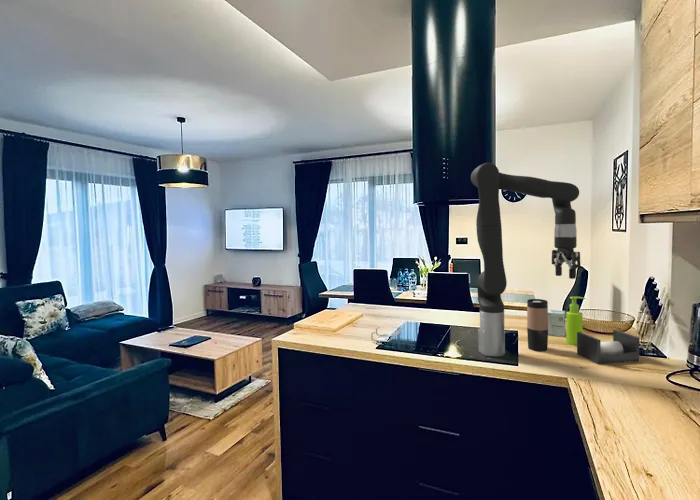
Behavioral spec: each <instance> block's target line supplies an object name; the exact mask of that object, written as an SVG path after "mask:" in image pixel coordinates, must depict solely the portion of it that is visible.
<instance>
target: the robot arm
mask: <svg viewBox="0 0 700 500" xmlns="http://www.w3.org/2000/svg"><path fill="white" fill-rule="evenodd" d="M470 181H471V183H472V184H473V186H475V187H476V188H477V190H478V207H477V215H476V220H475V222H476V223H475V225H476V227H475V229H476V238H477V243H478V247H479V249H480V253H481V255H482V259H483V266H484V267H483V271H482V272H481V273H480V274H479V275H478V277H477V283H476V287H477V301H478V305H479V327H478V329H477V339H478V340H477V341H478V345H477V346H478V349H477V350H478V352H479V353H480V354H482V355H483V356H487V357H502V356H504V355H505V354H506V351H505V350H506V346H505V345H506V343H505V342H506V340H505V337H506V334H505V304H504V302H503V299H502V294H503V293H504V292H505V290H506V289H507V284H508V283H507V281H508V280H507V276H506V271H505V265H504V258H503V257H504V253H503V252H504V251H503V232H502V231H503V230H502V227H503V226H502V219H501V207H500V198H499V197H500V196H499V195H500V193H499V192H500V190H503V191H507V192H508V191H510V192H512V193H518V194H523V195H526V196H530V197H536V198H541V199H545V198H546V199H551V203H552V206H553V210H554V231H553V233H554V234H553V235H554V237H553V238H554V241H553V243H554V245H553V246H554V248H555V249H552V250H551V265H554V266H553V267H555V271H554V272H555V276H557V277H561V276H562V275H563V270H562V269H563V268H562V267H563V263H565V264H566V265H567V266H568V278H569V279H571V280H575V279H576V278H577V269H578V268H581V252H580V251H575V249H576V248H577V243H578V241H577V225H576V224H577V214H576V211H575V209H573V208H572V204H571V202H572V203H573V202H574V201H576V200H577V199H578V198H579V196H580V190H579V188H578V186H577V185H576V184H573V183H570V182H564V181H556V180H555V181H553V180H548V179H543V178H539V177H535V176H534V177H533V176H527V175H514V174H508V173H504V172H503V173H502V172H500V171H499V168H498V167H497V166H496V164H494V163H492V162H485V163H482V164H480V165H478V166H476V168H474V169H473V170H472V172H471V174H470Z"/></svg>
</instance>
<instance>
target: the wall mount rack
mask: <svg viewBox="0 0 700 500" xmlns="http://www.w3.org/2000/svg"><path fill="white" fill-rule="evenodd" d="M380 328H381V327H380V326H376V328H375V331H372V332H371V334H370V335H371V336H370V337H371V341H373V342H374V343H375V344H376V343H377V344H376V345H383V344H382V342H387V343H388V342H390V341H392V340H393V339H394V338H395V337H397V336H398V335H399V334H401V331H402V330H403V329H404V328H405V327H404V326H402V327H400V329H398V330H397V331H396V332H394V333H393V334H392V335H391V334H389V333H386V334H385V333H382V334H378V330H379V329H380ZM373 334H376V336H379V337H377V338H376V339H373V338H374V337H373ZM389 336H393V337H390V339H389ZM388 339H389V340H388ZM387 340H388V341H387ZM377 341H380V342H377Z"/></svg>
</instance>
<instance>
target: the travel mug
mask: <svg viewBox="0 0 700 500" xmlns="http://www.w3.org/2000/svg"><path fill="white" fill-rule="evenodd" d="M526 301H527V302H526V303H527V305H526V306H527V307H526V313H527V315H526V322H527V323H526V327H527V328H526V331H527V348H528V350H530V351H533V352H546V351H548V345H549V343H548V339H549V338H548V337H549V335H548V310H549V309H548V308H549V307H548V304H549V303H548V300H547V299H541V298H530V299H529V298H528V299H527V300H526Z"/></svg>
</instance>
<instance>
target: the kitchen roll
mask: <svg viewBox="0 0 700 500" xmlns="http://www.w3.org/2000/svg"><path fill="white" fill-rule="evenodd" d="M611 353H623V346H622V344H621V343H620V342H618V341H613V340H611V341H600V354H611Z"/></svg>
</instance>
